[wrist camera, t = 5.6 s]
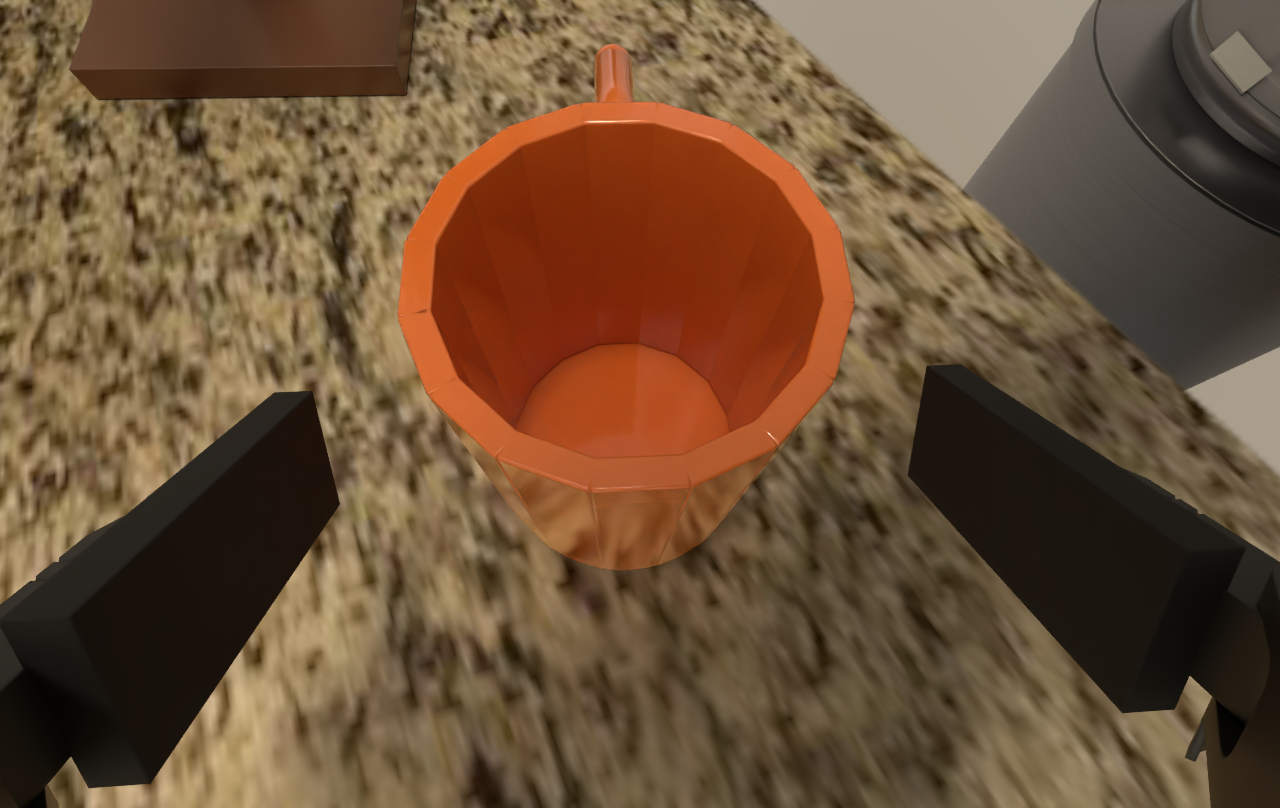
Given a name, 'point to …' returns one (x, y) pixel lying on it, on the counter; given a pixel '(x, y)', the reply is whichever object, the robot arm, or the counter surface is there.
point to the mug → (624, 317)
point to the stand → (245, 48)
